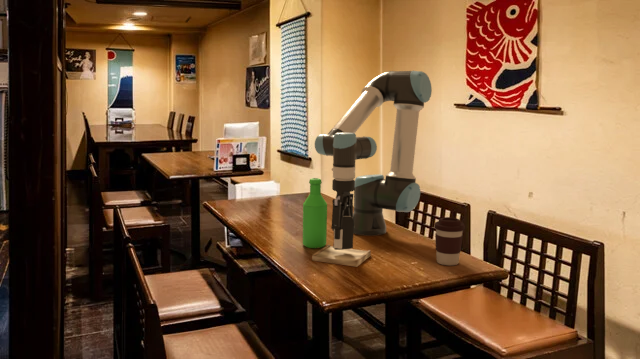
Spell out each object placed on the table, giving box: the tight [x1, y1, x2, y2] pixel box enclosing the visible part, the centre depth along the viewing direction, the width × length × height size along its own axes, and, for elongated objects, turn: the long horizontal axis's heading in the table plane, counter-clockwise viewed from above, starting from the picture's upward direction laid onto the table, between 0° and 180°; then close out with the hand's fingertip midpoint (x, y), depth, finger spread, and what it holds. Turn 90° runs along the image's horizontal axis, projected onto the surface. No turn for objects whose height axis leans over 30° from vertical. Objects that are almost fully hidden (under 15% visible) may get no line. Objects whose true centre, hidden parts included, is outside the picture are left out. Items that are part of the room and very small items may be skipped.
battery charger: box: [331, 215, 355, 250], centre depth 196 cm, size 7×4×11 cm, turn 110°
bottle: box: [302, 177, 328, 249], centre depth 210 cm, size 9×9×25 cm
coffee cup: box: [433, 216, 466, 267], centre depth 193 cm, size 10×10×15 cm
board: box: [311, 244, 372, 268], centre depth 197 cm, size 14×16×2 cm
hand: (342, 245), depth 197 cm, fingers closed on battery charger, 7 cm apart
